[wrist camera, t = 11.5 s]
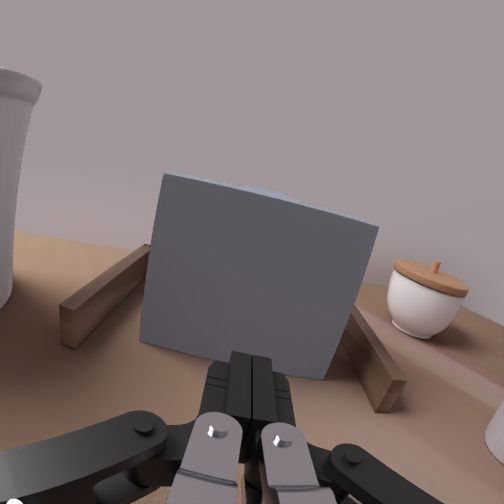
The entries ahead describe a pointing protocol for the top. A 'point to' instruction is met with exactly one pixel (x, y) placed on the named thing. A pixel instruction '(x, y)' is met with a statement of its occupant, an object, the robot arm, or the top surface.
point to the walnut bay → (134, 271)
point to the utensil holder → (12, 160)
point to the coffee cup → (496, 434)
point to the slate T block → (251, 274)
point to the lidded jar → (423, 298)
